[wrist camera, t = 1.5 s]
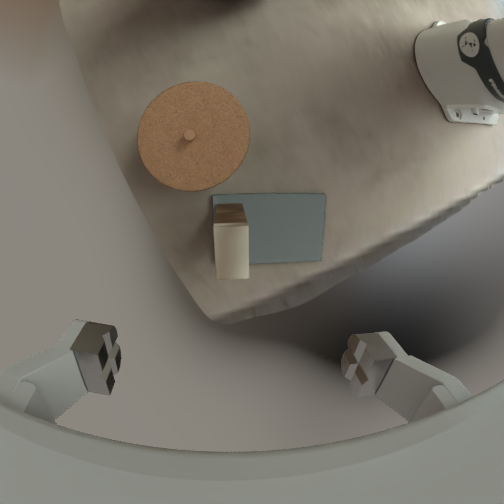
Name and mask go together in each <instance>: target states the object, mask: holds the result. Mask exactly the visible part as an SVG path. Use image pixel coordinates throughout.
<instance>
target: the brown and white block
mask: <svg viewBox="0 0 504 504" xmlns="http://www.w3.org/2000/svg"><path fill="white" fill-rule="evenodd" d="M213 229H214V247H215V264H216V280H227V279H249V226H248V222H247V219H246V215H245V212H244V208H243V204H242V203H226V204H217V207H216V214H215V220H214V227H213Z"/></svg>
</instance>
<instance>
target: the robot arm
mask: <svg viewBox="0 0 504 504" xmlns="http://www.w3.org/2000/svg"><path fill="white" fill-rule="evenodd" d="M415 57H416V62H417V65H418V68H419V71H420V74H421V76H422V78H423V80H424V82H425V84H426V85H427V87H428V89H429V90H430V91H431V93H432V94H433V95H434V97H435V98H436V99H437V100H438V101H439V103H440V104H441V107H442V109H443V111H444V114H445V116H446V118H447V119H448V120H449V121H450V122H461V123H475V124H486V125H496V124H497V122H498V119H499V114H504V18H502V19H498V20H494V19H490V18H488V19H480V20H477V21H475V22H472V21H471V20H461V21H456V22H451V23H447V24H446V23H444V22H443V21H437V22H435V23H434V24H433V26H432V28H430V29H427V30H424V31H422V32H421V33H420V34H419V35H418V37H417V39H416V43H415ZM117 337H118V336H117V330H116V328H115V327H114V326H112V325H106V324H100V323H94V322H88V321H83V320H77V319H76V320H74V321H73V322H72V323H71V325H70V326H69V328H68V329H67V330H66V332H65V333H64V335H63V336H62V338H61V340H60V341H59V342H58V344H57V346H56V347H54V346H51V347H49V348H47V349H45V350H43V351H41V352H39V353H37V354H35V355H33V356H31V357H29V358H27V359H25V360H23V361H21V362H19V363H17V364H15V365H13V366H10V367H9V368H6V369H5V370H2V372H1V373H0V504H504V380H502V381H500V382H499V383H497V384H495V385H493V386H492V387H490V388H488V389H486V390H484V391H483V392H481V393H479V394H477V395H475V396H472V395H471V394H470V393H469V392H468V390H467V389H466V388H465V387H464V385H463V384H462V383H461V382H460V381H459V380H458V378H456V377H454V376H452V375H450V374H448V373H446V372H444V371H442V370H440V369H437V368H435V367H433V366H431V365H429V364H427V363H425V362H423V361H421V360H419V359H417V358H415V357H413V356H408V355H407V354H406V353H405V351H404V350H403V349H402V348H401V346H400V345H399V344H398V343H397V342H396V341H395V339H394V338H393V337H392V336H391V335H390V333H388V332H386V331H385V332H377V333H370V334H358V335H352V336H351V337H350V338H349V341H348V346H349V349H348V350H347V351H346V352H345V353H344V354H343V357H342V361H341V368H342V372H343V374H344V376H345V377H346V378H347V379H349V380H350V384H349V386H350V388H351V390H352V391H353V394H354V396H355V397H356V398H358V397H364V396H371V395H375V396H376V397H377V398H378V399H380V400H381V401H383V402H384V403H385V404H386V405H388V406H389V407H390V408H392V409H393V410H394V411H395V412H397V413H398V414H399V415H401V416H402V417H403V418H405V419H406V420H407V421H409V422H408V423H407V424H404V425H401V426H398V427H394V428H391V429H387V430H384V431H381V432H377V433H373V434H369V435H365V436H361V437H356V438H352V439H347V440H343V441H338V442H333V443H327V444H321V445H315V446H308V447H301V448H292V449H282V450H270V451H252V452H251V451H250V452H208V451H190V450H177V449H167V448H159V447H151V446H144V445H138V444H132V443H126V442H121V441H116V440H112V439H107V438H103V437H98V436H94V435H91V434H86V433H83V432H80V431H76V430H73V429H69V428H66V427H63V426H60V425H57V423H56V422H55V419H57V418H58V417H59V416H60V415H61V414H63V413H64V412H65V411H66V410H67V409H69V408H70V407H71V406H72V405H73V404H75V403H76V402H77V401H78V400H79V399H80V398H82V397H83V396H84V395H85V394H86V393H88V392H87V391H89V392H94V393H99V394H105V395H110V394H111V392H112V389H113V386H114V383H115V380H114V376H113V375H115V374H116V373H118V371H119V368H120V363H121V351H120V346H119V345H118V344H117V343H116V342H115V341H116V339H117Z"/></svg>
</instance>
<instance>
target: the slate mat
mask: <svg viewBox="0 0 504 504" xmlns="http://www.w3.org/2000/svg"><path fill="white" fill-rule="evenodd" d="M226 203H242V204H243V208H244V212H245V215H246V219H247V222H248V226H249V264H263V263H285V262H307V261H321V258H322V247H323V235H324V221H325V206H326V194H324V193H251V194H218V195H213V219H214V220H215V214H216V207H217V204H226Z"/></svg>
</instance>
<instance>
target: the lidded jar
mask: <svg viewBox="0 0 504 504" xmlns="http://www.w3.org/2000/svg"><path fill="white" fill-rule="evenodd" d="M249 141H250V128H249V121H248V118H247V115H246V113H245V111H244V109H243V107H242V105H241V104H240V103H239V101H238V100H237V99H236V98H235V97H234V96H233V95H232V94H231V93H229V92H228V91H226V90H225V89H223V88H221V87H219V86H217V85H214V84H210V83H207V82H186V83H182V84H178V85H176V86H173V87H171V88H169V89H167V90H165V91H163V92H162V93H161V94H160V95H158V96H157V97H156V98H155V99H154V100H153V101H152V102H151V103H150V104H149V106H148V107H147V109H146V110H145V112H144V114H143V116H142V118H141V121H140V124H139V127H138V134H137V145H138V151H139V155H140V157H141V160H142V162H143V164H144V166H145V168H146V169H147V170H148V172H149V173H150V174H151V175H152V176H153V177H154V178H155V179H156V180H158V181H159V182H161V183H162V184H164V185H166V186H168V187H170V188H173V189H176V190H180V191H201V190H206V189H209V188H212V187H214V186H216V185H218V184H220V183H222V182H224V181H225V180H226V179H228V178H229V177H230V176H231V175H232V174H233V173H234V172H235V171H236V170H237V169H238V167H239V166H240V165H241V163H242V161H243V159H244V158H245V155H246V153H247V150H248V146H249Z"/></svg>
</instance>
